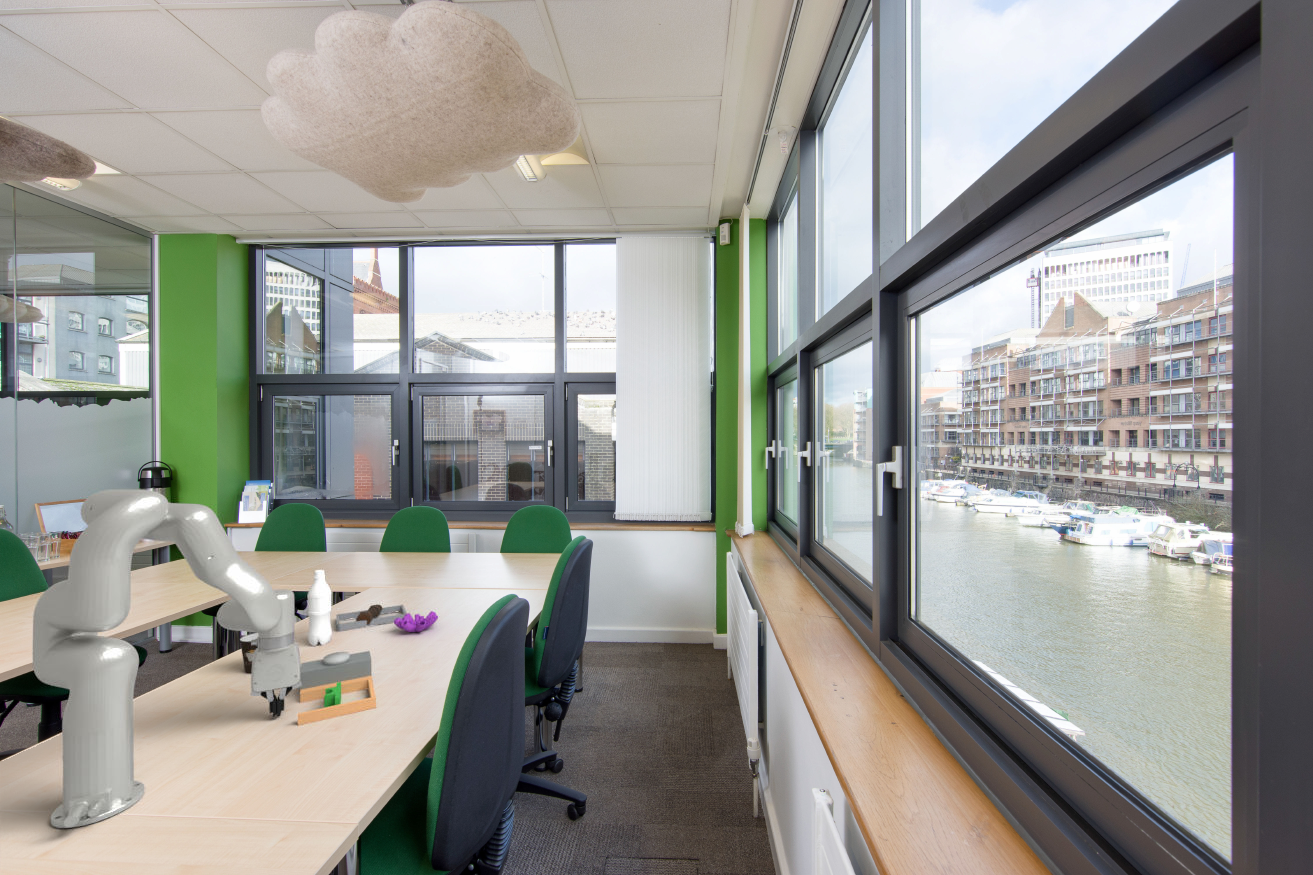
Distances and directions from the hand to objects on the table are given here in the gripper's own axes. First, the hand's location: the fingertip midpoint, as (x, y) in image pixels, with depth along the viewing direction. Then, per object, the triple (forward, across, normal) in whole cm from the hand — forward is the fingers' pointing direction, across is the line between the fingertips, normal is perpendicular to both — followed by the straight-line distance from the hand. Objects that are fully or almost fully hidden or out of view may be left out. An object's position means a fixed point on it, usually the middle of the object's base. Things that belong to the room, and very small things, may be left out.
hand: (277, 714), depth 140 cm
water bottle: (+1, +8, +56) cm, 57 cm away
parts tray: (0, +25, +74) cm, 78 cm away
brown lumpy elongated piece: (0, +25, +75) cm, 79 cm away
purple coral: (+1, +38, +52) cm, 64 cm away
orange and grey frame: (+1, +13, +5) cm, 14 cm away
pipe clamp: (+1, +12, 0) cm, 12 cm away
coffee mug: (+1, -7, +39) cm, 40 cm away
